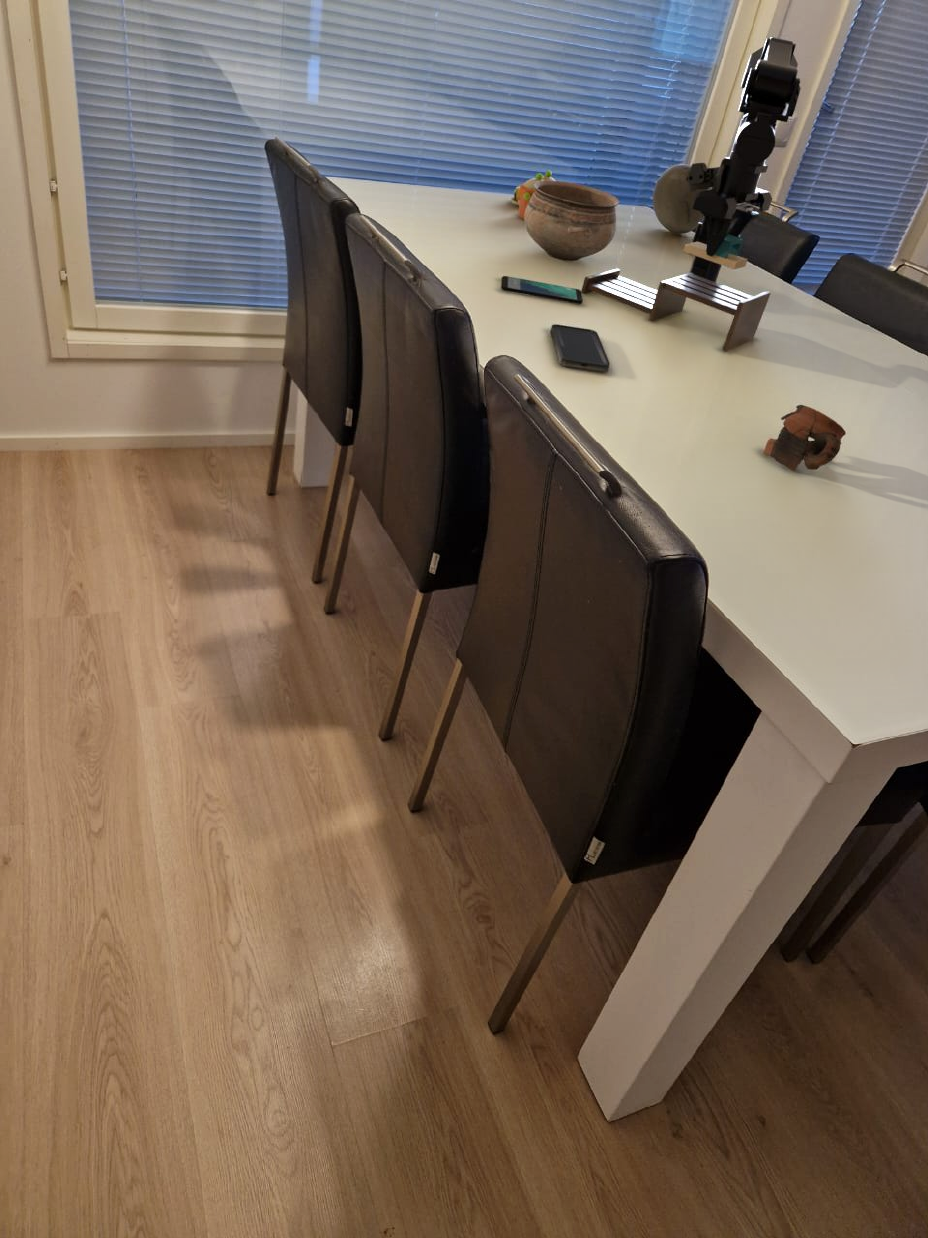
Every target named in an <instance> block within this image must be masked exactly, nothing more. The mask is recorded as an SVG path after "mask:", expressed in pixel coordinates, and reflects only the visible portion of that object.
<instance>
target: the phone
mask: <svg viewBox="0 0 928 1238" xmlns="http://www.w3.org/2000/svg"><path fill="white" fill-rule="evenodd" d="M549 331H550V332H549V334H550V337H551V340H552V343H553V347H554V351H555V354H556V357H557V360H558V364H560V366H562V367H567V368H573V369H580V370H585V371H586V370H587V371H593V372H598V373H599V372H601V373H607V372H608V371H609V368H610V365H611V363H610V361H609V358H608V356H607V353H606V350H605V348H604V346H603V343H602V341H601V338H600V336H599V333H598V331H596V330H593V329H590V328H583V327H577V326H571V325H563V324H556V323H554V324H551V327H550V330H549Z"/></svg>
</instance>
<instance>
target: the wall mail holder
mask: <svg viewBox="0 0 928 1238" xmlns="http://www.w3.org/2000/svg"><path fill="white" fill-rule="evenodd" d="M743 241H744V239H743V238H741V237H740V238H738V237H735V236H732V235H729V234H728V235H727V236H726V238H725V239H724V241H723V242H722V244H721V245H720V247H719V248H718V250H717V251H716V252H715V254H714V255H713V256H708V255H707V245H706V244H703V243H700V242H693V243H692V242H690V243H689V242H688V243H685V246H684V248H683V252H684V253H687V254H689V253H690V254H693V255H692V256H694V257H695V256H698V257H701V258H704V259H706V260H709V261H712V262H715V263H717V264H720V265H722V267H723V266H724V267H726V268H728V269H730V270H738V269H741V268H745V267H746V266H747V263H748V260H749V259H748V258H745V257H743V256H740V255H739V254H740V252H741V251H740V250H741V248H742V245H743Z"/></svg>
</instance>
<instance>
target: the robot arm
mask: <svg viewBox="0 0 928 1238" xmlns="http://www.w3.org/2000/svg"><path fill="white" fill-rule="evenodd" d="M796 46H797V44H796V43H794V42H793V40H787V39H783V38H779V37H773V36H771V37H767V38H766V40H765V43H764V45H763V46H762V47H760V48H759V49H757V50H756V51H754V52H752V53H751V54H750V55H749V56H750V57H749V59H748V62H747V65H746V67H745V68H746V69H745V72H744V74H743V78H742V81H741V83H740V84H741V85H740V89H742V93H741V98H740V104H739V107H738V111H737V112H739V113H743V118H741V119H740V123H739V126H738V129H737V133H736V135H735V138H734V142H733V144H732V147H731V151H730V154H729V156H727V157H724V158H723V159H722V160H721V163H720V165H719V166H715V167H708V166H707V164H706V162H696V163H692V164H691V168H690V171H688V176H687V177H686V181H687V182H688V183H689V184H690V191H695V190H701V189H708V188H711V190H706V191H701V192H699V193H698V194H696V195H695V196H694V200H693V203H692V206H691V208H692V209H694V210H697V211H700V212H701V213H702V214H703V215H704V218H703V220H702V221H701V223H698V226H697V227H696V228H695V232H694V236H693V238H692V242H691V243H693V242H700V243H703V244H706V245H707V255H708V256H713V255H714V254H715V252H716V251H717V250H718V248H719V247H720V245H721V244H722V242H723V241H724V239H725V238H726V236H727V235H728V234H729V235H732V236H735V237H738V238H741V235H742V234H743V233H744V232H745V231H746V229H747V228H749V226H750V225H751V224H752V223H753V222H754V221H755V219H756V218H758V217H759V215H760V213H759V212H757V211H754V207H757V208H758V209H759V211H760V212H767V211H769V210H770V208H771V204H772V201H773V197H772V194H771V192H770V191H768V190H766V189H762V188H759V187H758V184H759V181H760V178H761V175H762V174H764V173H766V172H767V170H768V168H769V165H768V164H766V160H767V159H768V158H769V157H770V156H771V155H772V154H773V151H774V149H775V146H776V131H777V128H778V126H777V121H778V122H779V121H780V122H783V123H788V120H789V118H790V117H791V118H793V115H794V113H795V111H796V107H797V103H798V100H799V96H800V94H801V93H800V92H801V89H802V88H801V85H800V84H801V78H799V77H798V72H799V70H798V62H797V58H796V56H795V54H794V53H795V49H796ZM688 255H689V256H693V261H692V263H691V266H690V270H689V273H693V274H694V275H697V276H699V277H702V278H705V279H708V280H710V281H713V282H716V283H717V280H718V278H719V275H720V271H721V269H722V267H723V265H720V264H717V263H715V262H712V261H709V260H706V259H704V258H701V257H698V256H695V255H693V254H690V253H688Z"/></svg>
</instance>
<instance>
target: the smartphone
mask: <svg viewBox="0 0 928 1238" xmlns="http://www.w3.org/2000/svg"><path fill="white" fill-rule="evenodd" d="M500 281H501V282H500V289H501V290H502V291H504V292H509V293H513V294H521V295H526V296H532V297H536V298H537V297H538V298H542V299H547V300H548V299H549V300H552V301H560V302H565V303H570V304H575V305H576V304H577V305H582V303H583V301H584V300H583V294H582V293H581V291H582V290H581V289H579V288H574V287H569V286H564V285H558V284H552V283H547V282H541V281H536V280H530V279H526V278H519V277H513V276H510V275H509V276H507V275H503V276H501V279H500Z"/></svg>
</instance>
